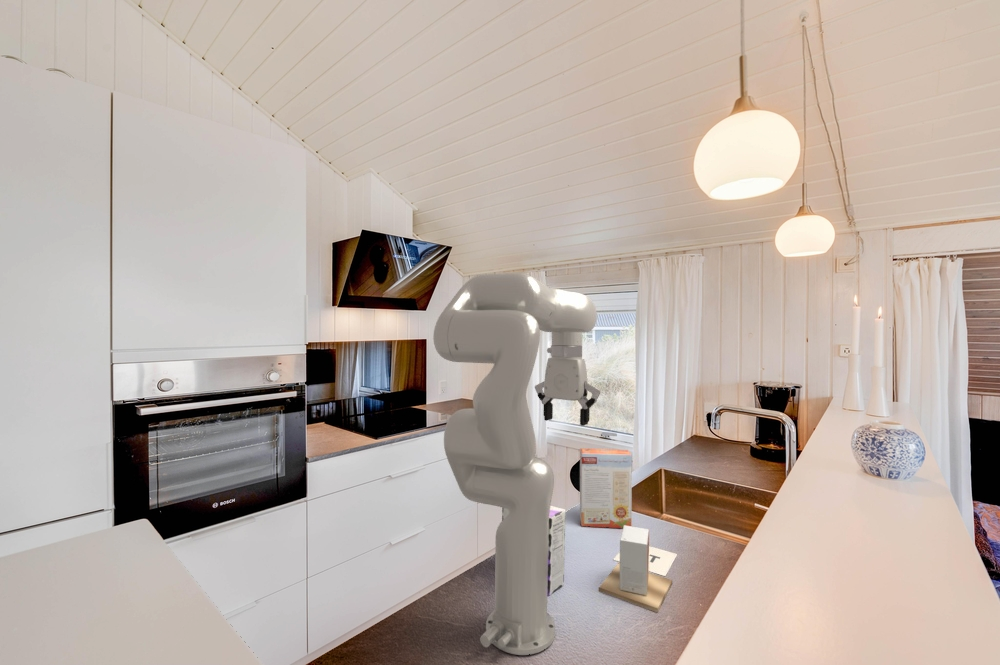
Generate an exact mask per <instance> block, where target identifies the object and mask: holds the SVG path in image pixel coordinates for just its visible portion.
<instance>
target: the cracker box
mask: <svg viewBox="0 0 1000 665" xmlns="http://www.w3.org/2000/svg"><path fill="white" fill-rule="evenodd" d="M632 457H633V456H632V453H631V452H630V451H629V450H628V449H615V448H613V449H610V448H609V449H608V448H579V458H580V459H579V520H580V525H581V527H583V526H586V527H588V526H590V527H588V528H606V527H609V528H610V529H611V528H612V529H623V526H624V525H626V526H632V515H633V514H632V506H633V504H632V502H633V501H632V499H633V498H632V497H633V496H632V495H633V494H632V488H633V487H632V484H633V483H632V476H633V473H632V472H633V471H632V462H633V461H632Z"/></svg>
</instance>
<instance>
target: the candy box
mask: <svg viewBox="0 0 1000 665" xmlns="http://www.w3.org/2000/svg"><path fill="white" fill-rule="evenodd" d="M501 508H502V507H501ZM501 512H502V513H501V515H502V516H501V519H502V520H503V519H504V518H505V517H506V516H507V515H508V514H509V510H508V509H506V508H502V510H501ZM566 513H567V512H566V509H565V508H560V507H557V506H554V505H552V504H551V505H550V513H549V524H548V578H547V596H551V595H552V594H554V593H555V592H556V591H559V589H561V588H562V587H564V586H565V554H566V553H565V547H566V546H565V545H566V544H565V542H566V539H565V538H566ZM502 520H501V521H502Z"/></svg>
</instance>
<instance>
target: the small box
mask: <svg viewBox="0 0 1000 665" xmlns="http://www.w3.org/2000/svg"><path fill="white" fill-rule="evenodd" d="M649 546H650V529H648V528H642V527H637V526H632V525H631V526H626V525H624V526H623V528H622V533H621V535H620V540H619V552H620V562H619V563H620V590H623V591H628V592H632V593H637V594H642V595H647V588H648V578H649V573H650V572H649Z"/></svg>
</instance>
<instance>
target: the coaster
mask: <svg viewBox="0 0 1000 665" xmlns="http://www.w3.org/2000/svg"><path fill="white" fill-rule="evenodd" d="M672 586H673V579H670V578H668V577H665V576H662V575H659V574H655V573H652V572H649V578H648V588H647V595H642V594H637V593H632V592H628V591H623V590H620V562H618V563H617V564H616V565H615V567H613V569H612V570H611V572H610V573H609V574H608V576H607V577H606V578H605V579H604V580H603V582H602V583H601V584H600V585H599V587H598V592H600V593H603V594H606V595H608V596H611V597H614V598H616V599H619V600H622V601H625V602H628V603H630V604H633V605H636V606H639V607H641V608H643V609H646V610H650V611H652V612H654V613H659V611H660V609H661V608H662V605H663V603H664V601H665V599H666V597H667V596H668V594H669V592H670V589H671V587H672Z"/></svg>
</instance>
